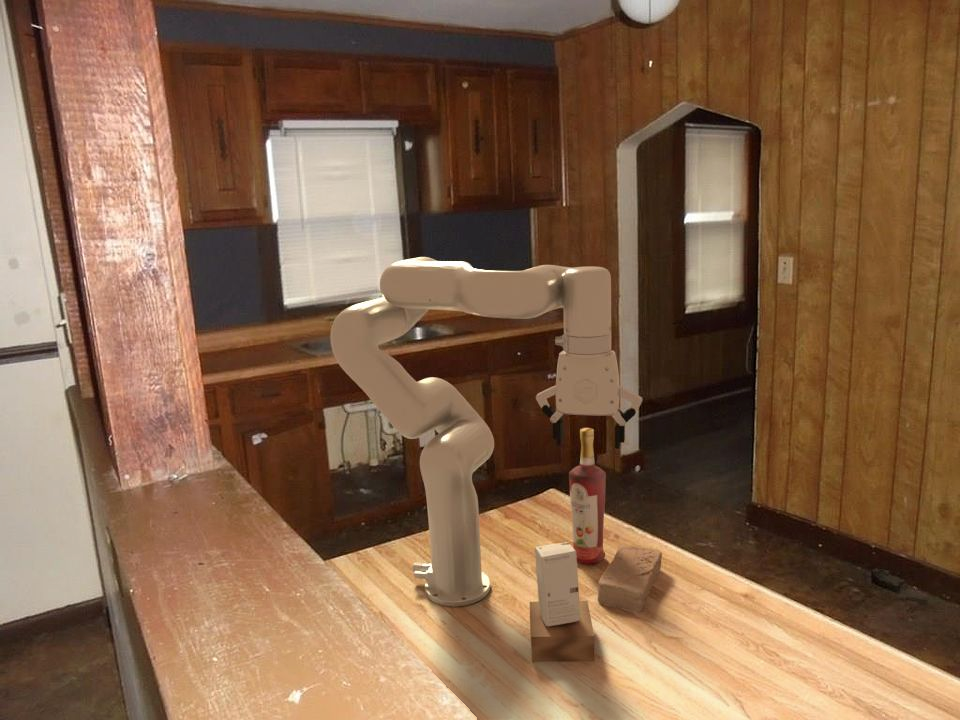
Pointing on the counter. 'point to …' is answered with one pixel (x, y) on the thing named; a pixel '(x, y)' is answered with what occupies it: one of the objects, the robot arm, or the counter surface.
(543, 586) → the skincare box
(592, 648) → the walnut block
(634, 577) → the brick
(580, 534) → the liquor
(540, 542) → the counter surface
